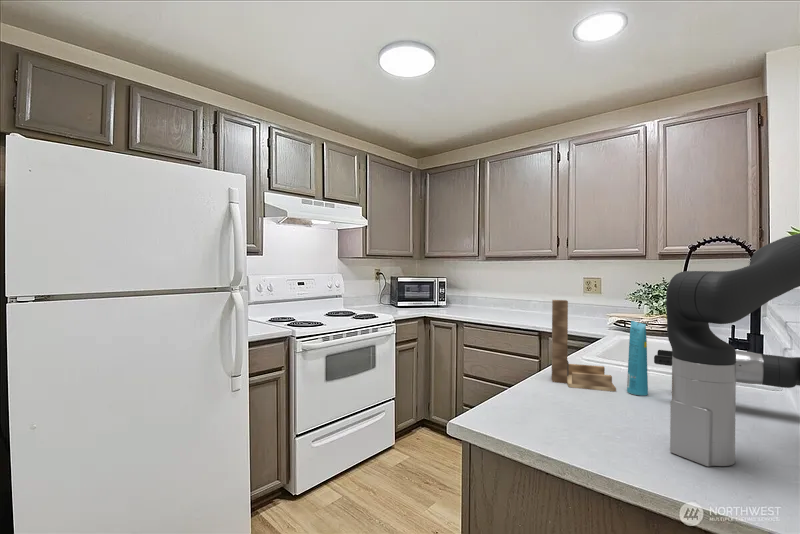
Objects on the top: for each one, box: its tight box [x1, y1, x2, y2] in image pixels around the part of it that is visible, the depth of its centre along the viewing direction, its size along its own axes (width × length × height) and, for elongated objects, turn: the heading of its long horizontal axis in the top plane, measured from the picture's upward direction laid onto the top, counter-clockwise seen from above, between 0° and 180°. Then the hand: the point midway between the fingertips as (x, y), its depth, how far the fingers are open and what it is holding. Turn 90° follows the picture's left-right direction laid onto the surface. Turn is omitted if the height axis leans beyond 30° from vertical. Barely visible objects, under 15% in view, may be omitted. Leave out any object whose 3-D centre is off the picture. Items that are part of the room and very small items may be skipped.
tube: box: [626, 320, 649, 396], centre depth 108 cm, size 7×5×19 cm, turn 2°
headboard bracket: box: [551, 299, 617, 392], centre depth 117 cm, size 16×12×24 cm
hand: (655, 356), depth 105 cm, fingers open, 8 cm apart
